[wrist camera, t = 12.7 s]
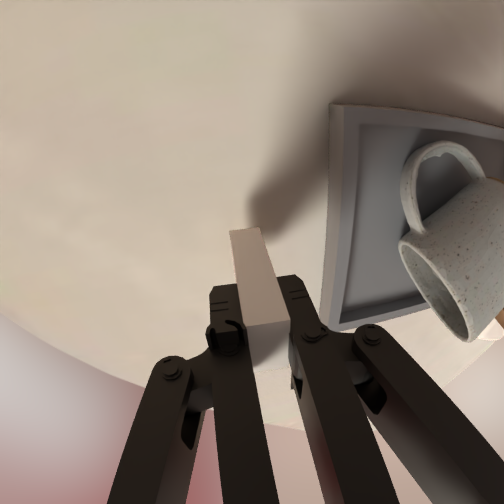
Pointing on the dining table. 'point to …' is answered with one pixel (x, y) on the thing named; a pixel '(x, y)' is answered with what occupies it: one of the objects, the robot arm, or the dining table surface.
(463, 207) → the ceramic mug
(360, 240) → the tray
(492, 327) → the soap
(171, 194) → the dining table surface
